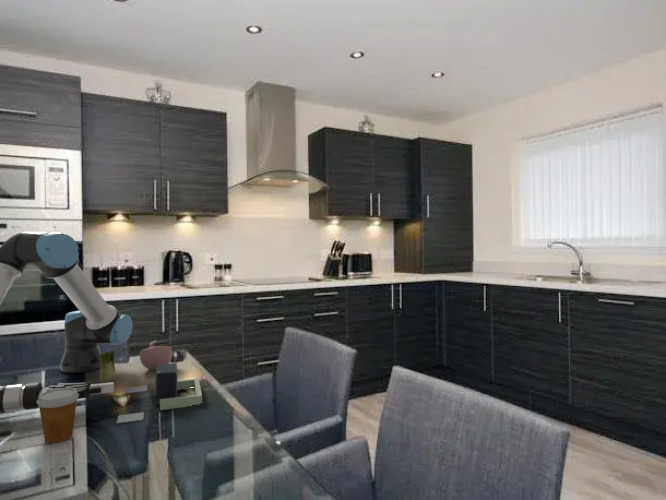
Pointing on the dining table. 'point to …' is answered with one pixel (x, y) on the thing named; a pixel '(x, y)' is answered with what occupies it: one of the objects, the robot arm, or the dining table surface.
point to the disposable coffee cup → (58, 413)
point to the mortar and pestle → (155, 356)
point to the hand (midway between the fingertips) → (113, 387)
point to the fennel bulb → (107, 367)
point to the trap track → (168, 402)
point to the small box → (166, 381)
